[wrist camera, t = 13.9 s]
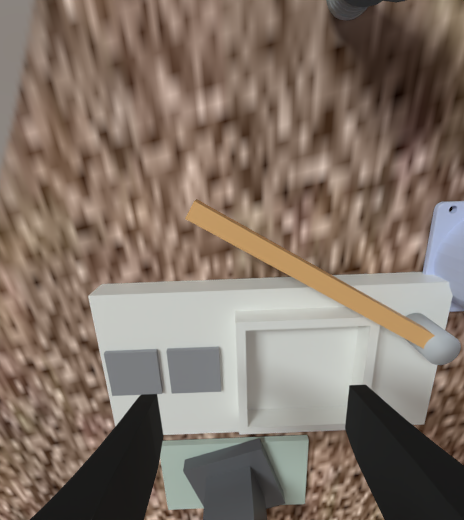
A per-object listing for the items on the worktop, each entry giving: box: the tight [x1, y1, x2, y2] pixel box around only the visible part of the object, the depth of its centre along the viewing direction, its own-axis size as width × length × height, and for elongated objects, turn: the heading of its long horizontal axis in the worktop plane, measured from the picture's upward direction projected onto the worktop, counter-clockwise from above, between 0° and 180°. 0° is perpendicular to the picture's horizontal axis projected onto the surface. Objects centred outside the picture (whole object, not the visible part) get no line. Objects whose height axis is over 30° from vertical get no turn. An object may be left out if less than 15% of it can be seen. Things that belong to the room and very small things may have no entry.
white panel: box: [88, 272, 453, 435], centre depth 20 cm, size 24×12×4 cm, turn 92°
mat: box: [160, 435, 309, 510], centre depth 25 cm, size 13×8×1 cm, turn 92°
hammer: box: [185, 199, 461, 365], centre depth 16 cm, size 18×2×3 cm, turn 61°
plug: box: [183, 438, 286, 520], centre depth 22 cm, size 7×7×6 cm
